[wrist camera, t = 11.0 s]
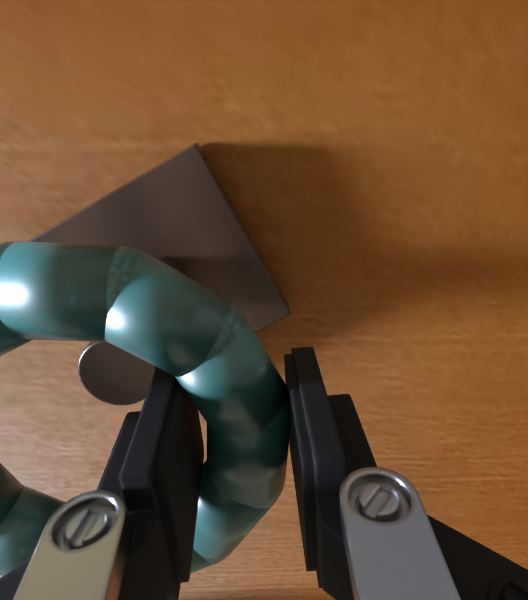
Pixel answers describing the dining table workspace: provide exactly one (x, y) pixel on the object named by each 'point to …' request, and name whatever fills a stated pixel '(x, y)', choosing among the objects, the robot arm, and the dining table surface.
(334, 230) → the dining table surface
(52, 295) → the ring
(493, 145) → the dining table surface
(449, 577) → the robot arm
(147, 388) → the post
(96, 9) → the dining table surface
